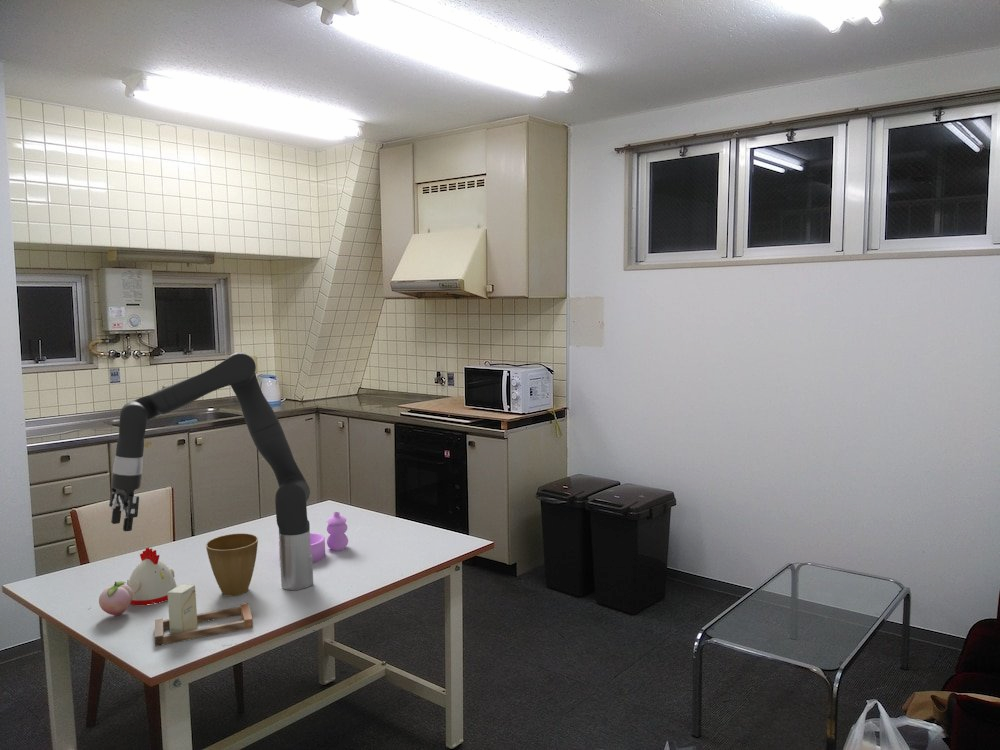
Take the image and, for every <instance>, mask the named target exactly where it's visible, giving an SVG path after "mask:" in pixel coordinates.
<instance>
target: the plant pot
mask: <svg viewBox="0 0 1000 750" xmlns="http://www.w3.org/2000/svg"><path fill="white" fill-rule="evenodd" d="M258 543H259V538H258V536H257V535H255V534H253V533H245V532H244V533H243V532H241V533H240V532H239V533H238V532H237V533H230V534H224V535H220V536H217V537H214V538H212V539H210V540H208V541H207V542H206V543H205V548H206V553H207V557H208V561H209V564H210V567H211V570H212V573H213V576H214V578H215V580H216V584H217V585H218V588H219V589H220V591H221V594H222V595H223V596H225V595H226V596H227V597H236V595H237V596H241V595H244V594H245V593H247V592H248V590H249V588H250V584H251V582H252V578H253V574H254V570H255V565H256V559H257V554H258Z"/></svg>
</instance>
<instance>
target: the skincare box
mask: <svg viewBox="0 0 1000 750" xmlns="http://www.w3.org/2000/svg"><path fill="white" fill-rule="evenodd" d="M176 586H177V585H176ZM196 596H197V594H196V585H195V584H187V583H185V584H184V583H181V584H179V585H178V586H177V587H175V588H174V589H172V590H170V591H169V592H168V600H167V604H168V606H167V607H168V619H169V623H170V628H169V634H173V633H178V632H184V631H189V630H194V629H196V628H197V629H199V628H198V623H197V614H198V613H197V612H198V611H197V597H196Z"/></svg>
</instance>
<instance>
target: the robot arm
mask: <svg viewBox="0 0 1000 750" xmlns="http://www.w3.org/2000/svg"><path fill="white" fill-rule="evenodd" d="M256 370H257V365H256V362H255V360H254V358H252V357H251V356H250V354H247V353H244V352H235V353H232V354H230V355H228V356H227V357H226V359H225V360H222V361H221V362H220V363H218V364H216V365H215V366H213V367H211V368H210V369H207V370H206V371H203V372H201V373H199V374H197V375H193V376H191V377H188V378H185V379H183V380H180V381H178V382H176V383H172V384H170V385H168V386H165V387H164V388H161V389H160V390H157V391H155V392H154V393H151V394H148V395H145V396H141V397H139V398H136V399H134V400H131V401H129V402H127V403H125V404H124V405H123V406H122V407H121V410H120V414H119V425H118V427H119V429H118V438H117V443H116V449H115V457H114V461H113V467H112V475H111V485H110V486H111V488H110V490H111V491H110V498H109V505H108V506H109V508H111V511H112V512H111V519H110V520H111V524H112V525H116V524H121V523H120V522H121V516H122V512H123V517H124V518H123V527H122V531H124V532H130V531H132V530H133V524H134V523H133V522H134V518H137V517H138V514H139V505H140V504H139V502H140V496H139V495H135V490H139V489H140V488H141V484H142V475H143V469H144V468H143V466H144V462H143V461H144V458H143V457H144V449H145V434H146V430H147V429H146V428H147V423H148V421H149V420H150V419H154V418H155V417H157V416H160V415H166V414H169V413H171V412H174V411H176V410H178V409H180V408H183V407H184V406H187V405H189V404H191V403H193V402H195V401H197V400H198V399H201V398H202V397H204V396H207V395H208V394H211V393H213V392H215V391H217V390H219V389H222V388H225V387H229V386H230V387H231V388H232V390H233V392H234V394H235V396H236V397H237V400H238V402H239V405H240V408H241V412H242V415H243V418H244V422H245V423H246V427H247V430H248V432H249V435H250V437H251V440H252V441H253V442H252V443H254V445H255V447H256V449H257V451H258V452H259V454H260V455H261V456H262V457H263V458H264V460H265V461H266V462H267V463H268V464H269V466H270V468H271V469H272V471H273V473H274V475H275V479H276V480H277V485H278V487H279V488H278V489H277V490H276V493H275V497H274V500H275V502H274V503H275V516H276V517H275V518H276V519H275V520H276V525H277V527H278V540H279V541H278V546H279V545H280V555H279V561H280V562H279V563H280V564H279V565H280V566H279V567H280V583H281V584H280V585H281V588H282V589H284V590H287V591H297V590H302V589H306V588H308V587H311V586H314V571H313V569H314V568H313V567H314V566H313V563H312V555H311V549H310V533H311V528H310V521H309V520H308V510H307V502H308V500H309V497H310V494H311V493H310V492H311V491H310V486H309V484H308V481H307V480H306V479H305V477H304V474H303V473H302V471H301V469H300V468H299V466H298V465H297V463H296V460H295V458H294V456H293V453H292V450H291V447H290V445H289V443H288V440H287V436H286V435H285V431H284V430H283V427H282V425H281V423H280V420H279V419H278V417H277V414H276V413H275V411H274V409H273V407H272V406H271V405H270V403H269V402H268V400H267V399H266V396H265V395H264V393H263V391H262V389H261V386H260V384H259V380H258V377H257V374H256Z"/></svg>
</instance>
